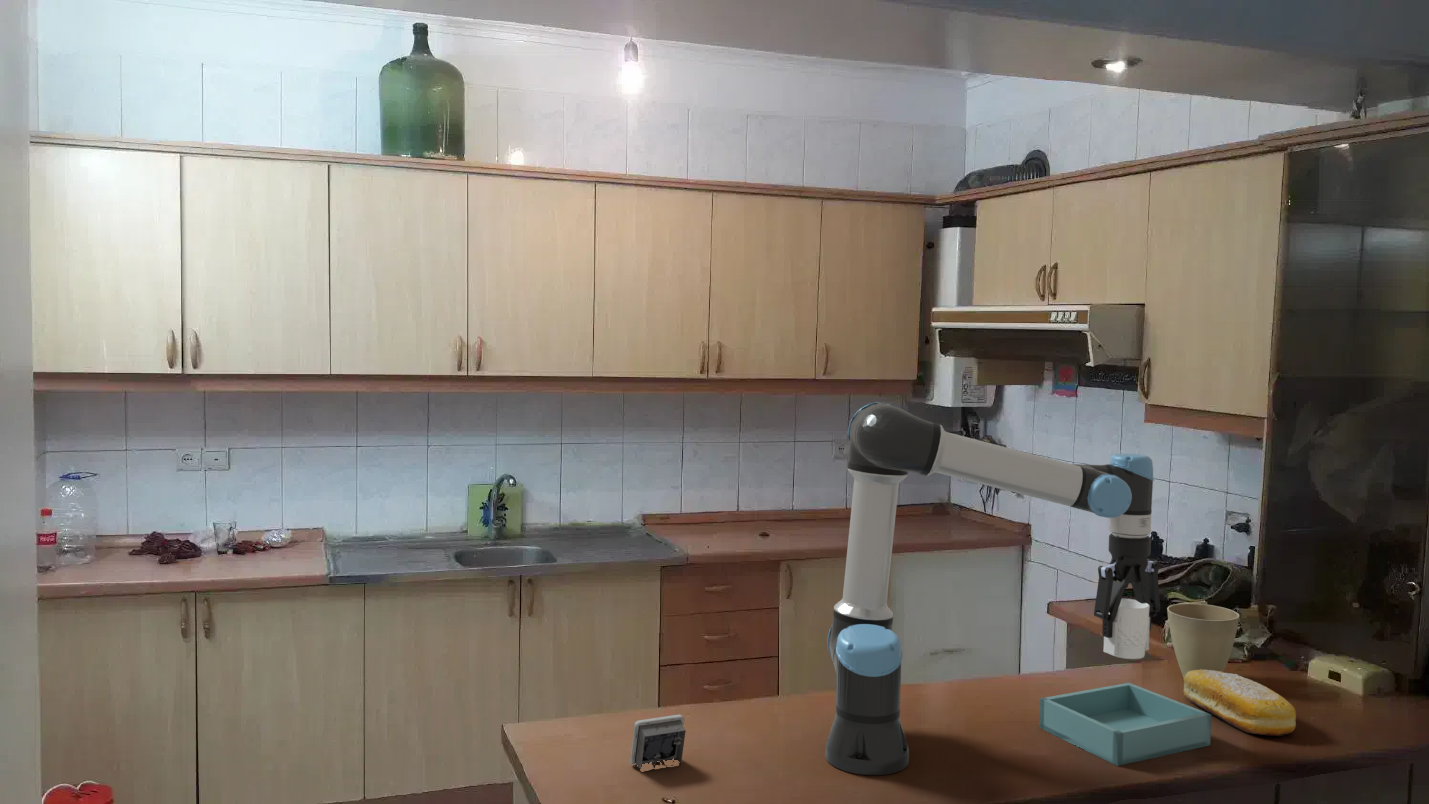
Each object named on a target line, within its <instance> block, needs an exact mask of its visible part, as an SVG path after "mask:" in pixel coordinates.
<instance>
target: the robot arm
mask: <svg viewBox="0 0 1429 804" xmlns="http://www.w3.org/2000/svg"><path fill="white" fill-rule="evenodd" d="M847 436H848V441H849V450H848V459H847V471H848V472H849V473H850V475H851V476H852V477H853V480H854V481H853V489H852V500H851V509H850V520H849V531H848V540H847V541H848V542H847V551H846V560H845V561H846V562H845V571H844V582H843V590H842V591H843V592H842V598H841V600H839V601H837V603H836V604H834V606H833V612H832V622H831V623H832V624H831V625H830V626H831V627H830V628H829V632H828V635H827V650H828V653H829V657H830V658H831V660H832V663H833V667H834V670H835V674H836V675H835V676H836V679H835V680H836V681H835V682H836V683H835V684H836V685H835V686H836V687H835V688H836V689H835V690H836V691H835V717H834V720H833V722H832V725H831V728H830V730H829V734H828V737H827V739H826V743H825V760H826V761H827V762H828V763H829V764H830V765H832V766H833V767H835V768H837V769H839V770H842V771H844V772H847V773H852V774H856V775H864V776H883V775H890V774H895V773H898V772H900V771H903V770H904V769H905V768H907V767H908V765H909V762H910V749H909V745H908V742H907V739H906V735H905V733H904V729H903V726H902V725H903V724H902V722H901V687H902V686H901V683H902V681H901V680H902V678H901V677H902V676H901V675H902V659H903V650H902V644H901V643H902V642H901V639H900V638H899V636H898V634H897V633H896V632H894V631H893V621H894V612H893V611H892V610H891V608H890V607H889V606H888V596H889V595H888V592H889V583H890V574H891V564H892V563H891V562H892V554H893V543H894V536H895V535H894V534H895V526H896V524H895V523H896V517H897V516H896V514H897V507H898V506H897V505H898V496H899V484H900V483H901V482H902V481H903V480H905V479H907V477H908V475H909V473H913V474H919V475H921V476H926V477H928V476H931V475H932V474H934V473H935V474H936V473H937V474H940V475H941V474H942V475H945V476H949V477H954V478H957V479H961V480H964V481H967V482H972V483H976V484H980V485H985V486H987V487H992V488H996V489H1000V490H1002V491H1003V490H1004V491H1008V492H1012V493H1015V494H1020V495H1023V496H1026V497H1027V496H1028V497H1031V498H1035V499H1040V500H1043V501H1047V502H1051V503H1055V504H1059V505H1062V506H1067V507H1070V508H1073V509H1077V510H1082V511H1085V512H1089V513H1092V514H1094V515H1096V516H1098V517H1102V518H1107V519H1109V522H1108V523H1109V524H1108V525H1109V526H1108V530H1109V531H1110V532H1111V533H1110V534H1109V535H1108V552H1109V554H1110V555H1111V560H1110V562H1109V565H1105V566H1103V565H1099V566H1098V568H1097V571H1098V583H1097V589H1096V596H1095V597H1096V598H1095V603H1094V610H1093V616H1094V617H1096V618H1098V619H1101V620H1102V627H1101V628H1102V629H1101V630H1102V631H1101V633H1102V637H1103V652H1104V653H1105V654H1108V655H1110V654H1111V656H1113V655H1114V657H1115V655H1117V645H1118V621H1114V620H1115V618H1116V614H1117V611H1118V607H1119V605H1120V602H1121V599H1123V595H1124V593H1125V590H1126V589H1128V587H1129V584H1130V585H1131V587H1132V590H1133V593H1134V597H1135V600H1136V601H1138V602H1140V603H1142V604H1144V603H1147V604H1149V605H1150V609H1149V622H1148V632H1147V642H1146V647H1145V651H1150V632H1151V631H1152V630H1151V629H1152V617H1153V618H1155V617H1156V616H1157V615H1158V613H1159V612H1160V611H1161V600H1160V588H1159V587H1160V586H1159V577H1158V576H1159V575H1158V574H1159V568H1160V563H1159V562H1157V561H1152V560H1148V557H1150V555H1151V551H1152V549H1151V547H1152V545H1151V543H1152V540H1151V536H1149V535H1151V533H1152V508H1153V507H1152V504H1153V490H1154V489H1153V488H1154V481H1155V478H1154V466H1153V465H1154V464H1153V463H1154V462H1153V459H1152V458H1151V457H1150V456H1148V455H1145V454H1139V453H1138V454H1136V453H1115V454H1113V455H1112V456H1111V457H1110V463H1107V464H1073V463H1068V462H1063V461H1060V460H1057V459H1053V458H1049V457H1045V456H1040V455H1036V454H1034V453H1029V452H1026V451H1022V450H1018V449H1013V448H1011V447H1010V448H1009V447H1008V446H1007V447H1006V446H1002V445H998V444H994V443H990V442H987V441H982V440H979V439H975V438H972V437H968V436H963V435H959V434H956V433H951V432H948V431H945V429H944V427H943V425H941V424H939V423H936V422H931V421H929V420H926V419H923V418H920V417H919V416H915V415H914V414H912V413H910V412H908V411H906V410H905V409H902V408H900V407H899V406H897V405H895V404H893V403H887V402H884V401H881V402H879V401H875V402H870V403H868V404H866V405H864V406H863V407H861V408H859V409H858V410H857V411H856V413H855V414H854V415H853V416H852V418H851V420H850V421H849V425H848V430H847ZM1109 613H1110V614H1109Z"/></svg>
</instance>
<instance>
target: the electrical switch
mask: <svg viewBox="0 0 1429 804" xmlns="http://www.w3.org/2000/svg"><path fill="white" fill-rule="evenodd" d="M684 724H685V718H684V716H683V715H682V714H676V715H675V714H673V715H668V716H667V715H666V716H661V717H660V716H659V717H653V718H652V717H651V718H646V719H639V720H636V721H635V722H634V723H633V731H632V732H633V733H632V742H631V750H630V758H629V759H630V760H629V761H630V764H635V763H636V765H638V767H639V768H640V769H641V767H642V764H645V763H648V764H649V763H650V762H652V764H653V763H654V764H657V763H655V762H657V761H660V762H661V763H663V762H662V761H663V760H665V761H667V760H672V759H673V758H674V760H678V761H679V762H680V763H681V764H682V761H683V752H684V744H685V738H686V729H685V728H684ZM660 762H659V763H660ZM654 764H653V765H654ZM638 767H637V768H638ZM639 768H638V769H639Z"/></svg>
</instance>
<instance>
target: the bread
mask: <svg viewBox="0 0 1429 804" xmlns="http://www.w3.org/2000/svg"><path fill="white" fill-rule="evenodd" d="M1182 678H1183V677H1182ZM1183 694H1184V697H1185V698H1186V699H1187V701H1189V702H1191V703H1192V704H1193V705H1195V706H1197V707H1199V708H1201V709H1203V710H1204V711H1206V712H1207V713H1209V714H1211V716H1214V717H1215V718H1217V719H1218V720H1220V721H1222V722H1223V723H1226V724H1227V725H1230V726H1231V727H1234V728H1236V729H1237V730H1238V731H1241V732H1244V733H1246V734H1252V735H1255V734H1256V735H1263V736H1271V737H1276V736H1277V737H1283V736H1284V735H1288V734H1291V733H1292V732H1294V730H1295V729H1296V726H1297V723H1296V720H1297V712H1296V708H1295V707H1294V706H1293V704H1292V703H1290V701H1288V700H1287V699H1286V698H1285V697H1283V696H1282V695H1281V694H1279V693H1277V692H1275V690H1272V689H1271V688H1268V687H1267V686H1265V685H1263V684H1261V683H1259V682H1257V681H1254V680H1252V679H1249V678H1246V677H1244V676H1241V675H1239V674H1237V673H1229V672H1225V671H1224V672H1220V671H1214V670H1213V671H1212V670H1202V669H1201V670H1193V671H1189V672H1187V673H1186V675H1185V677H1184V678H1183Z"/></svg>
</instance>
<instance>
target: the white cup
mask: <svg viewBox="0 0 1429 804" xmlns="http://www.w3.org/2000/svg"><path fill="white" fill-rule="evenodd" d="M1149 609H1150V605H1149V604H1147V603H1144V604H1142V603H1140V602H1138V601H1136V599H1131V598H1122V599H1121V602H1120V605H1119V607H1118V611H1117V614H1116V618H1115V620H1114V621H1118V645H1117V655H1115V656H1114V655H1111V654H1109V655H1111V656H1114V657H1115V658H1120V659H1127V660H1140V659H1143V658H1145V655H1146V650H1145V647H1146V642H1147V632H1148V622H1149ZM1109 614H1110V613H1109Z"/></svg>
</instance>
